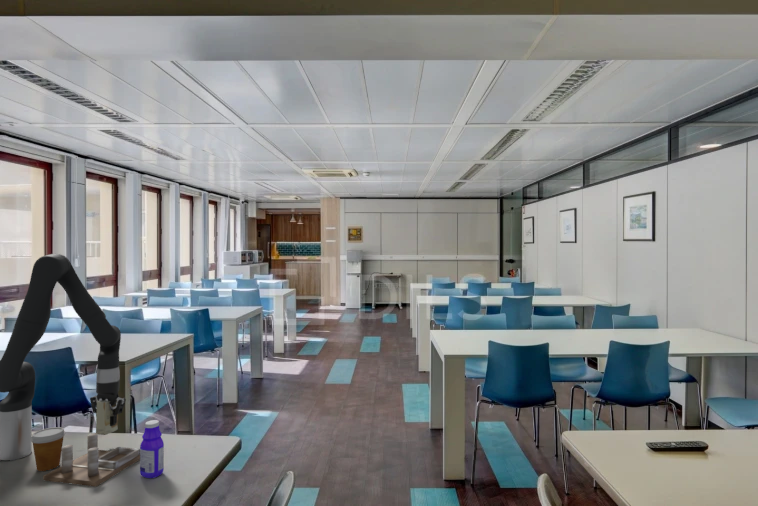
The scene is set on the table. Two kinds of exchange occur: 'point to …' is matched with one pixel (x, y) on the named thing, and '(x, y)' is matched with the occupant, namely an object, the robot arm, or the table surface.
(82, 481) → the pin board
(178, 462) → the table surface
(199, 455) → the table surface
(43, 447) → the disposable coffee cup
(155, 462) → the bottle
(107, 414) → the skincare box
